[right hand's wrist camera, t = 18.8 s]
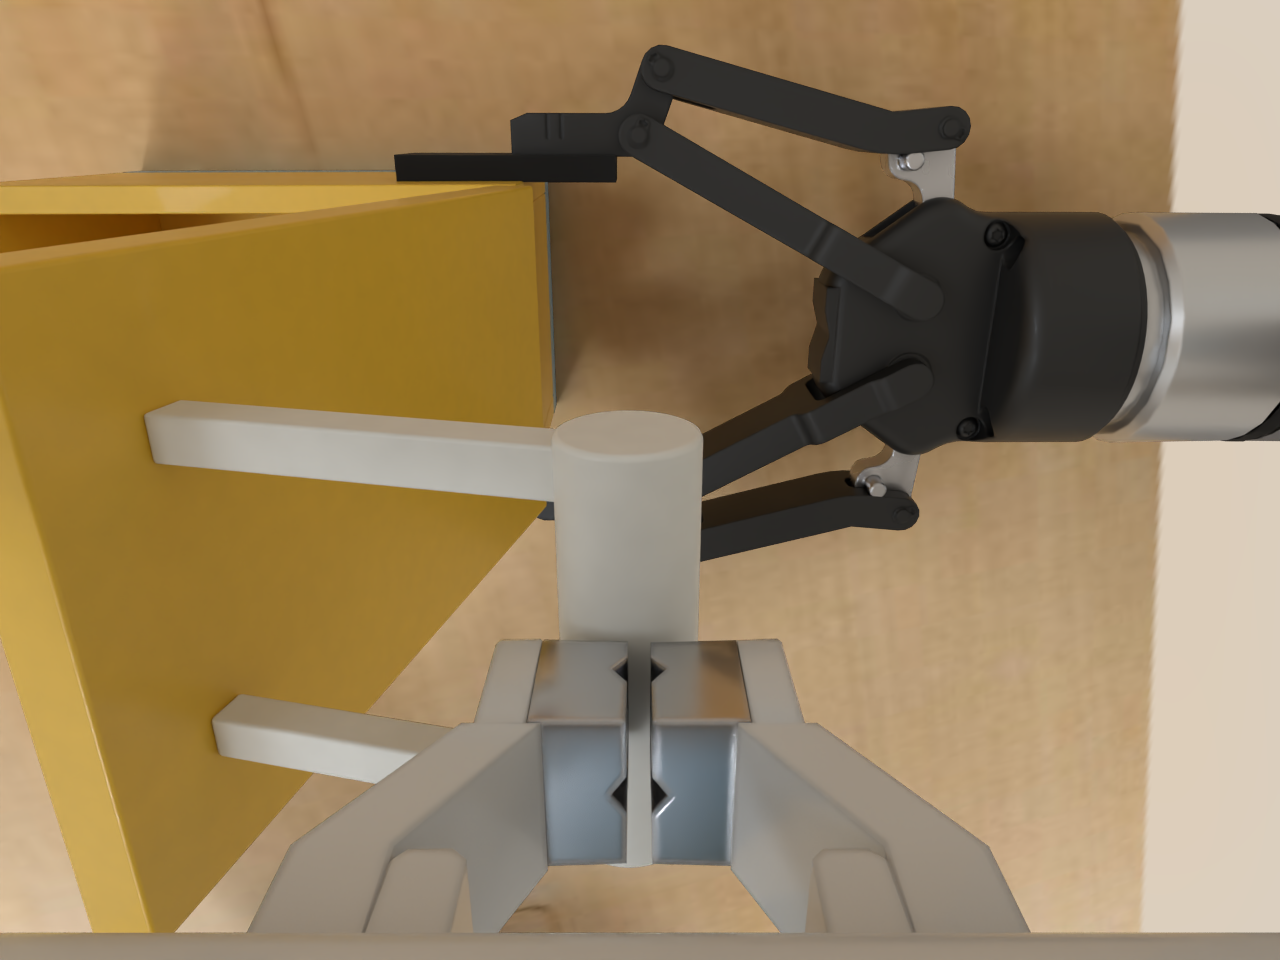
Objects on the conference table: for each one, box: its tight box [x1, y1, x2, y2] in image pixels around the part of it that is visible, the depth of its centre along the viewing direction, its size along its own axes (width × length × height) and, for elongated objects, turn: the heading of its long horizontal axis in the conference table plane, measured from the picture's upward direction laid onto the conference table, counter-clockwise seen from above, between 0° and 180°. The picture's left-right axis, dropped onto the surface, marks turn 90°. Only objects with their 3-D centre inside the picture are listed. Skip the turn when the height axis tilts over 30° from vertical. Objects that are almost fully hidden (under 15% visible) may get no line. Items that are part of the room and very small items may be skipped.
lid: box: [0, 185, 703, 933], centre depth 17 cm, size 16×9×8 cm
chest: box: [0, 170, 556, 428], centre depth 31 cm, size 16×10×10 cm, turn 90°
